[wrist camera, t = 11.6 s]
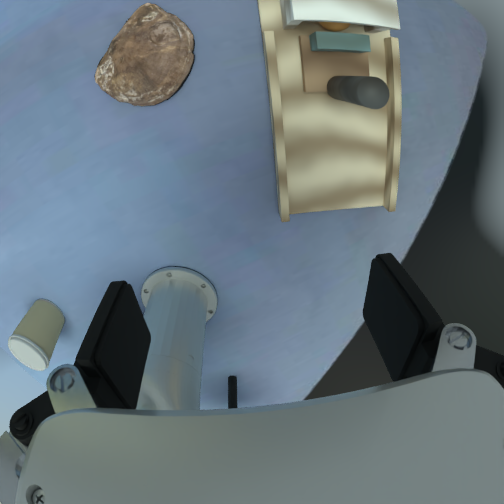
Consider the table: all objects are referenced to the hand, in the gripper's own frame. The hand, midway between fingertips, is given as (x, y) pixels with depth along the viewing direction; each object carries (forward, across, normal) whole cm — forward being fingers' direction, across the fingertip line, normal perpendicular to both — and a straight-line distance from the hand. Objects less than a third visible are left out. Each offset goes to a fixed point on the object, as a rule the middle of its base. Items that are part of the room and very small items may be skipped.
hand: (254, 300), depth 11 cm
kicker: (+26, -12, -10) cm, 31 cm away
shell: (+28, +10, -14) cm, 33 cm away
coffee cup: (+30, +42, +25) cm, 57 cm away
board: (+28, -12, -6) cm, 31 cm away
